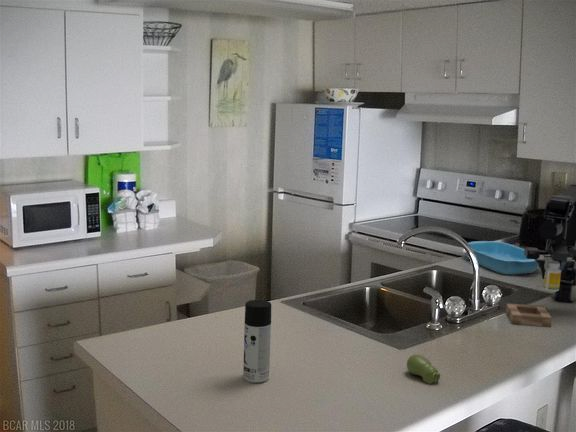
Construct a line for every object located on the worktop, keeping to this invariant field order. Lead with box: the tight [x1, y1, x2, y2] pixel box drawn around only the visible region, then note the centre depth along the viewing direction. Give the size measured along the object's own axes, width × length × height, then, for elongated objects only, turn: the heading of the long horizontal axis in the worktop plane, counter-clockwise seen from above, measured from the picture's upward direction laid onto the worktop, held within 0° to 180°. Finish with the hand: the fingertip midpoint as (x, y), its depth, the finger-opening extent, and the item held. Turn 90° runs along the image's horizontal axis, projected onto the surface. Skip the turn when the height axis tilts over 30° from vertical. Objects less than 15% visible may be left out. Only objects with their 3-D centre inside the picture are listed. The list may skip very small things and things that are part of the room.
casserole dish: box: [465, 240, 539, 276], centre depth 292 cm, size 37×22×7 cm, turn 19°
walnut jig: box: [505, 302, 553, 328], centre depth 227 cm, size 12×12×3 cm
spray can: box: [242, 299, 272, 384], centre depth 175 cm, size 7×7×20 cm
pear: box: [406, 353, 441, 385], centre depth 180 cm, size 6×5×10 cm
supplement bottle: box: [541, 260, 561, 293], centre depth 234 cm, size 5×5×10 cm
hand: (551, 279), depth 235 cm, fingers closed on supplement bottle, 5 cm apart
